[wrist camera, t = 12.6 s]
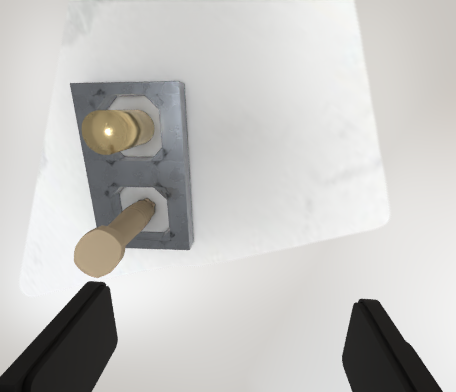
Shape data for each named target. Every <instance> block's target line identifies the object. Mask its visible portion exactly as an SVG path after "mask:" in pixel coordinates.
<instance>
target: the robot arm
mask: <svg viewBox="0 0 456 392" xmlns="http://www.w3.org/2000/svg"><path fill="white" fill-rule="evenodd" d="M117 341H118V337H117V331H116V325H115V318H114V312H113V306H112V299H111V293H110V288H109V287H108V286H106V284H105V283H104V282H94V281H89V282H87V283H86V284H85V285H84V286H83V287H82V288H81V289H80V291H79V292H78V293H77V294H76V295H75V296H74V297H73V298H72V299H71V300H70V301H69V303H68V304H67V305H66V306H65V307H64V308H63V309H62V310H61V311H60V313H58V314H57V316H56V317H55V318H54V319H53V320H52V321H51V322H50V323H49V324H48V325H47V326H46V328H45V329H44V330H43V331H42V332H41V333H40V334H39V335H38V336H37V337H36V339H35V340H34V341H33V342H32V343H31V344H30V345H29V346H28V347H27V348H26V349H25V350H24V352H23V353H22V354H21V355H20V356H19V357H18V358H17V359H16V360H15V361H14V362H13V364H12V365H11V366H10V367H9V368H8V369H7V370H6V371H5V372H4V373H3V374H2V375H1V377H0V392H92V390H93V388H94V386H95V385H96V383H97V381H98V379H99V377H100V376H101V374H102V372H103V370H104V368H105V367H106V365H107V363H108V361H109V359H110V357H111V356H112V354H113V352H114V350H115V348H116V345H117ZM342 361H343V367H344V370H345V373H346V375H347V378H348V381H349V383H350V386H351V389H352V392H443V391H442V390H441V388H440V387H439V385H438V384H437V382H436V381H435V379H434V378H433V376H432V375H431V374H430V372H429V371H428V369H427V368H426V366H425V365H424V363H423V362H422V360H421V359H420V357H419V356H418V354H417V353H416V352H415V350H414V349H413V347H412V346H411V345H410V344H409V343H407V342H406V341H405V340H404V338H403V337H402V335H401V334H400V332H399V331H398V329H397V328H396V326H395V325H394V323H393V322H392V320H391V319H390V317H389V316H388V314H387V313H386V311H385V310H384V308H383V307H382V305H381V304H380V302H379V301H378V300H373V299H372V300H371V299H360V300H359V301H358V303H354V305H353V309H352V313H351V318H350V323H349V327H348V332H347V337H346V341H345V346H344V350H343V355H342Z"/></svg>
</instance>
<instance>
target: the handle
mask: <svg viewBox="0 0 456 392" xmlns="http://www.w3.org/2000/svg"><path fill="white" fill-rule="evenodd" d="M154 206H155V204H154V203H153V202H151V201H150V200H149V199H147V198H146V199H144V200H142V201H138V202H136V203H134V204H132V205H130V206H129V207H127V208H126V209H125V210H124V211H122V212H121V213H120V214H119V215H118V216H117V217H116V218H115V219H114V220H113V221H112V222H111V223H110V224H109V225H108V226H103V225H102V226H99V227H97V228H95V229H93V230H91V231H89V232H88V233H86V234H85V235H84V236H83V237H82V238H81V239H80V241H79V242H78V244H77V245H76V247H75V251H74V262H75V264H76V266H77V267H78V268H79V269H80V270H81V271H82V272H84V273H85V274H87V275H89V276H92V277H96V278H99V277H101V276H104V275H106V274H108V273H110V272H111V271H112V270H113V269H114V268H115V267H116V266H117V264H118V263H119V262H120V261H121V259H122V258H123V256H124V252H125V246H126V245H127V244H128V243H129V242H130V241H131V240H132V239H133V238H134V237H135V236H136V235H137V234H139V233H140V232H141V231H142V230H143V228H144V227H145V226H146V225H147V224H148V222H149V221H150V219H151V217H152V216H153V215H154V213H155V211H154Z"/></svg>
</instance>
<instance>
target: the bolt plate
mask: <svg viewBox="0 0 456 392" xmlns="http://www.w3.org/2000/svg"><path fill="white" fill-rule="evenodd" d="M70 87H71V92H72V97H73V103H74V108H75V113H76V119H77V124H78V129H79V135H80V140H81V145H82V151H83V156H84V162H85V167H86V172H87V178H88V183H89V188H90V194H91V199H92V204H93V210H94V215H95V220H96V226H97V227H99V226H102V225H103V226H108V225H109V224H110V223H111V222H112V221H113V220H114V219H115V218H116V217H117V216H118V215H119V214H120V213H121V212H122V208H121V201H120V195H119V192H120V191H121V190H122V189H123V188H124V187H154V188H155V189H156V190H157V191H158V192H159V193H160V194H161V195H163V196H164V197H165V198H166V199H167V205H168V216H169V227H170V228H169V229H168V230H167V231H166V232H140V233H139V234H137V235H136V236H135V237H134V238H133V239H132V240H131V241H130V242H129V243H128V244H127V245H126V246H125V248H142V249H173V250H190V248H191V246H192V243H193V224H192V206H191V189H190V172H189V155H188V138H187V121H186V104H185V87H184V83H182V82H180V81H165V82H114V83H70ZM136 95H145V96H146V97H147V98H148V99H149V100H150V101H151V102H152V103H153V104H154V105H155V106H156V107H157V108H158V109H159V116H160V127H161V138H162V148H161V149H160V151H159V152H158V153H157V154H156V155H155V156H154V157H125V156H124V155H123V154H122V153H121V152H117V153H114V154H110V155H102V154H99V153H96V152H95V151H93V150H92V149H91V148H89V147H88V145H87V144H86V142H85V141H84V139H83V136H82V122H83V120H84V118H85V117H86V116H87V115H88V114H89V113H91V112H93V111H96V110H107V109H108V107H109V106H110V105H111V103H112V102H113V101H114V100H115V98H116V97H117V96H136Z"/></svg>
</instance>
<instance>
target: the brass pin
mask: <svg viewBox="0 0 456 392" xmlns="http://www.w3.org/2000/svg"><path fill="white" fill-rule="evenodd" d="M153 134H154V124H153V121H152V119H151V118H150V117H149V115H148V114H146V113H145V112H143V111H140V110H96V111H93V112H91V113H89V114H88V115H87V116H86V117H85V118H84V120H83V122H82V136H83V139H84V141H85V142H86V144H87V145H88V147H89V148H91V149H92V150H93V151H95V152H96V153H99V154H102V155H110V154H114V153H117V152H120V151H123V150H126V149H129V148H132V147H135V146H138V145H141V144H144V143H147V142H148V141H149V140H150V139H151V138H152V136H153Z"/></svg>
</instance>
